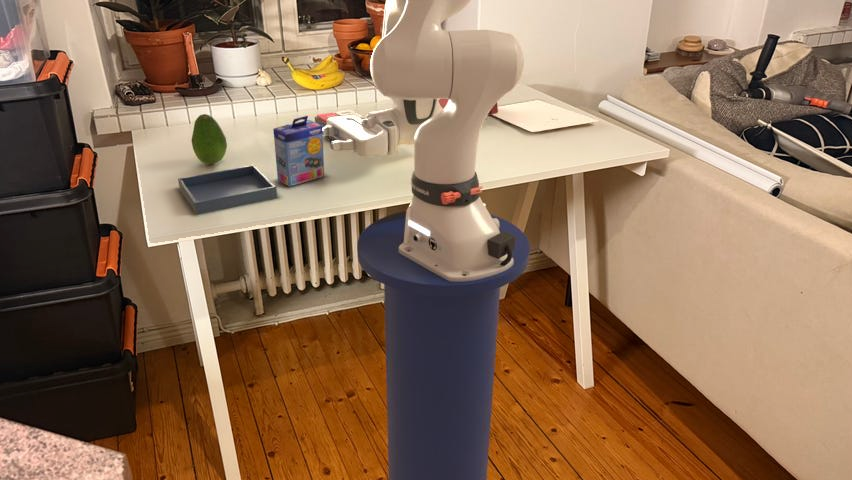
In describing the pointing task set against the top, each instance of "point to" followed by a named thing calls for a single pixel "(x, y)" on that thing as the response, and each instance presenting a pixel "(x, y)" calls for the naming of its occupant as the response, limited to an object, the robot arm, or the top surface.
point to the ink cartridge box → (299, 151)
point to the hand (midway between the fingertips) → (323, 140)
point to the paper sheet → (540, 116)
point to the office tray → (226, 189)
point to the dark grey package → (323, 118)
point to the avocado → (208, 140)
